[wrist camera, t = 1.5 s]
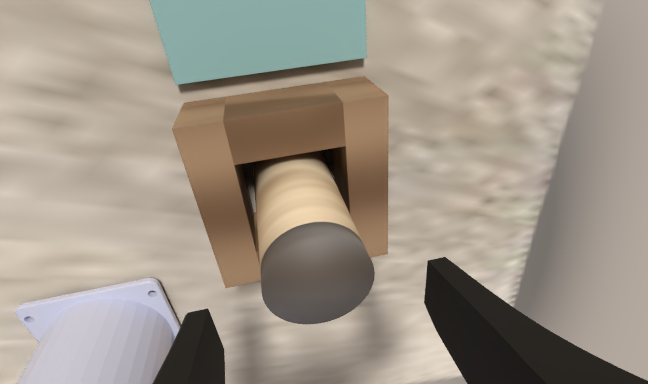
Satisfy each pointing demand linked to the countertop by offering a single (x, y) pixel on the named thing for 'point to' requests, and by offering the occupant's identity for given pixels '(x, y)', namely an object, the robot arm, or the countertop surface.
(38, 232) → the countertop surface
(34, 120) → the countertop surface
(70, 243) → the countertop surface
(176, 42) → the teal mat
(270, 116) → the walnut block
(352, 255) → the maple plug
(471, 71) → the countertop surface
